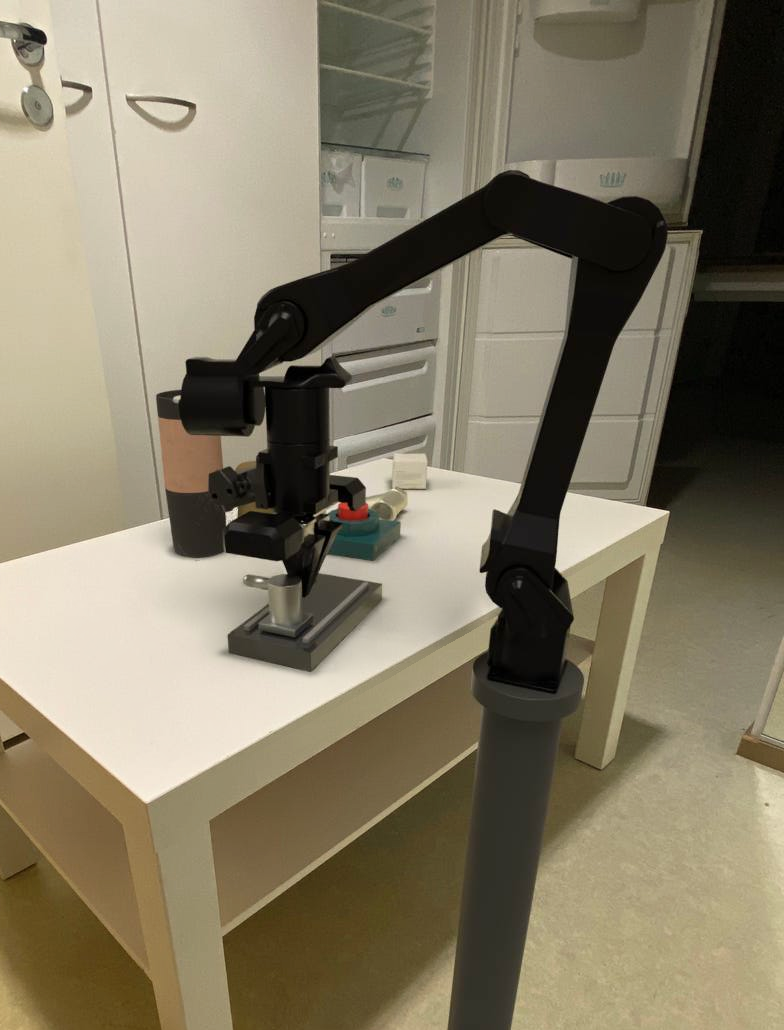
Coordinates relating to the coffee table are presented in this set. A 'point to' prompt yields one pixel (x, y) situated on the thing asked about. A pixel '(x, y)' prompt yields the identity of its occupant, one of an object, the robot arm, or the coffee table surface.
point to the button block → (364, 536)
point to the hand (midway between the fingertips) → (302, 595)
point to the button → (352, 512)
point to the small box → (409, 471)
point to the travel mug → (189, 482)
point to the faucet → (282, 604)
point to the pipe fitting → (388, 503)
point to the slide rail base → (333, 619)
